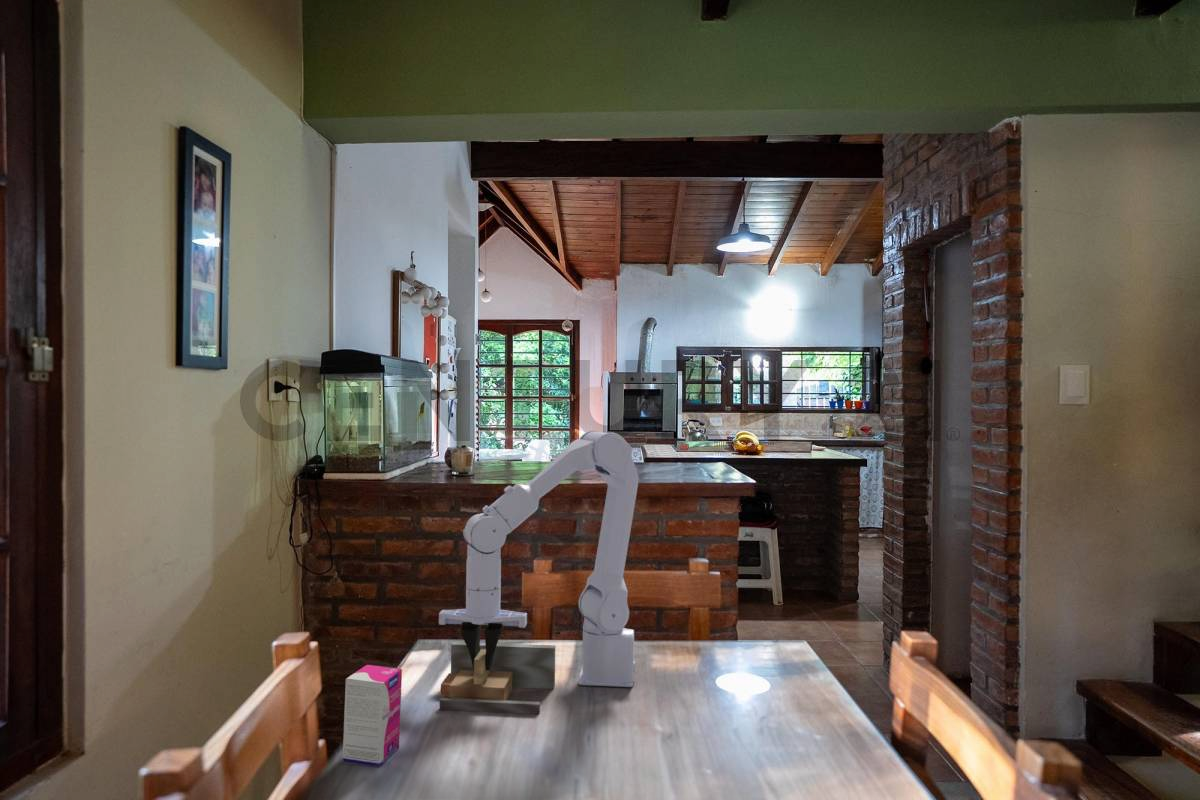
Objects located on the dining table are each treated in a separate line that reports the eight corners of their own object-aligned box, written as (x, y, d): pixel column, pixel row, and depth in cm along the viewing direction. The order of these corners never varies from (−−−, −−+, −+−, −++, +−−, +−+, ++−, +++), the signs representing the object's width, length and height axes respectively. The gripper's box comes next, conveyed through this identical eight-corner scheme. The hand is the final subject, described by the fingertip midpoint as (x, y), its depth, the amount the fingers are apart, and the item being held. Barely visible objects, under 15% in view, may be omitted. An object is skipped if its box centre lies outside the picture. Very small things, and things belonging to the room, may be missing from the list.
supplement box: (381, 768, 96) (382, 682, 96) (341, 763, 98) (342, 678, 98) (401, 747, 102) (402, 667, 102) (363, 743, 103) (364, 663, 103)
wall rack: (554, 685, 125) (555, 645, 125) (545, 714, 114) (545, 670, 114) (451, 681, 126) (451, 641, 126) (431, 709, 115) (432, 665, 115)
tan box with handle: (512, 689, 123) (512, 648, 123) (503, 706, 116) (504, 663, 116) (460, 686, 124) (461, 646, 124) (449, 704, 117) (449, 661, 117)
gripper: (433, 591, 117) (432, 675, 117) (522, 594, 116) (520, 678, 116) (446, 580, 124) (444, 659, 124) (529, 583, 123) (528, 662, 123)
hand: (482, 667), depth 121 cm, fingers closed on tan box with handle
